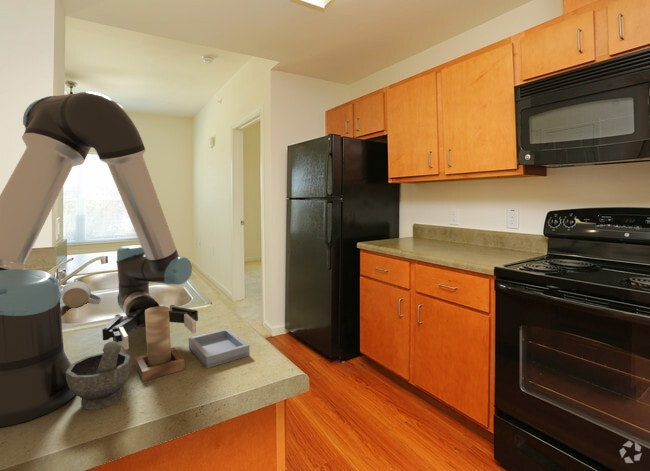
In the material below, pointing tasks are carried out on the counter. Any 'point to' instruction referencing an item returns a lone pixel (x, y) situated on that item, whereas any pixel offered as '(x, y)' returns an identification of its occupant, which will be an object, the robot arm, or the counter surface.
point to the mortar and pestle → (99, 376)
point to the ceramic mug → (78, 295)
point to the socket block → (159, 366)
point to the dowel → (158, 335)
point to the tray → (218, 347)
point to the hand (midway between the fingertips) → (162, 334)
